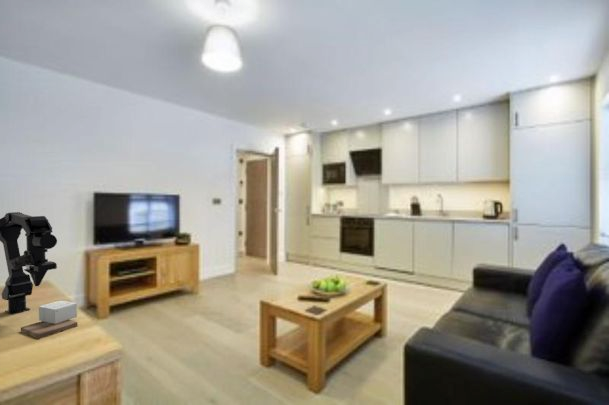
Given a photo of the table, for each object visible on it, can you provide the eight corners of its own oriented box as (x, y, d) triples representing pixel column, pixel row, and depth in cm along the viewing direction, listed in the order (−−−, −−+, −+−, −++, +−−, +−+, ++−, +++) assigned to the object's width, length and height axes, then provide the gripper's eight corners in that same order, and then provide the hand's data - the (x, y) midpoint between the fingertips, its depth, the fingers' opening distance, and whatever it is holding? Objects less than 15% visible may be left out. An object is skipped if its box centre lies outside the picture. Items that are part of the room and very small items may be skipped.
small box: (38, 320, 124) (54, 324, 119) (37, 306, 124) (54, 309, 119) (61, 313, 131) (77, 317, 127) (61, 299, 131) (77, 303, 126)
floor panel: (20, 331, 117) (20, 327, 117) (58, 320, 128) (58, 316, 128) (39, 338, 111) (39, 334, 111) (77, 326, 121) (77, 322, 121)
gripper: (-1, 249, 127) (1, 288, 128) (22, 252, 119) (23, 294, 119) (34, 245, 137) (35, 281, 137) (56, 247, 128) (58, 286, 129)
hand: (37, 286), depth 130 cm, fingers closed
